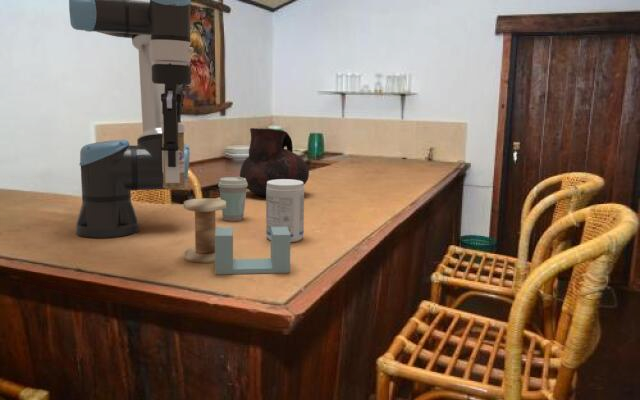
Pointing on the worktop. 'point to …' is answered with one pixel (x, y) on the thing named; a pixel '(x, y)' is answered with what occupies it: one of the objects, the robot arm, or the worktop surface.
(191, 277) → the worktop surface
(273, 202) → the supplement tub
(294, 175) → the jug
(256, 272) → the blue-grey u-shaped block
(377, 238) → the worktop surface
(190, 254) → the bobbin
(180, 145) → the sprinkles bottle
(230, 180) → the coffee cup
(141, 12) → the robot arm
